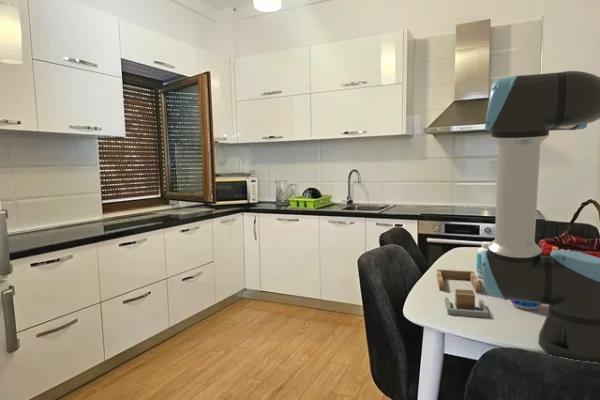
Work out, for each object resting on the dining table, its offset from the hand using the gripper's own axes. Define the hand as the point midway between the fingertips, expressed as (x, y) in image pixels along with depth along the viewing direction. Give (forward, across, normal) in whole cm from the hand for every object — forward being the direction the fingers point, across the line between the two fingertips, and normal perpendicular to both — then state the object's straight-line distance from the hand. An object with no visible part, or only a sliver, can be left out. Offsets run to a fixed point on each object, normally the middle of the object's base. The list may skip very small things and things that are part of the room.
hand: (511, 219), depth 135 cm
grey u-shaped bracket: (+24, -24, +17) cm, 38 cm away
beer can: (+25, -17, -1) cm, 30 cm away
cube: (+25, -23, +17) cm, 37 cm away
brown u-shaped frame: (+24, 0, +17) cm, 30 cm away
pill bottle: (+25, +12, +5) cm, 28 cm away
